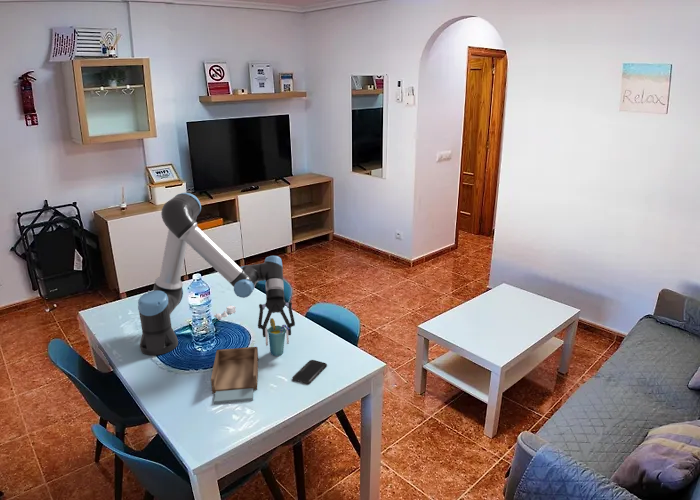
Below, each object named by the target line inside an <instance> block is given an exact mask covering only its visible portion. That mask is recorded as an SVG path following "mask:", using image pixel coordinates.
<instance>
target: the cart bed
mask: <svg viewBox="0 0 700 500" xmlns="http://www.w3.org/2000/svg"><path fill="white" fill-rule="evenodd" d="M210 377H211V378H210V383H211V391H212V394H215V393H216V391H226V390H237V389H249V388H253V390H254V391H256V390H258V377H259V351H258V346H249V347H247V346H246V347H234V348H224V349H216V352H215V357H214V362H213V366H212V372H211V376H210Z"/></svg>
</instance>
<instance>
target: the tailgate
mask: <svg viewBox="0 0 700 500" xmlns="http://www.w3.org/2000/svg"><path fill="white" fill-rule="evenodd" d="M254 391H255V390H253V388H249V389H237V390H226V391H216V393H214V394H215V395H214V400H213V403H214V405H215V404H216V405H217V404H227V403H235V402H236V403H237V402H247V401H254Z"/></svg>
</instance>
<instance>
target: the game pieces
mask: <svg viewBox="0 0 700 500" xmlns="http://www.w3.org/2000/svg"><path fill="white" fill-rule="evenodd" d="M234 313H236V306H234V305H233V304H232V305H228V306H227V307H226V310H224V311H223V313H222V314H221V313H220V312H219V313H215V314H214V315H213V317H214V318H215V317H216V318H217V319H218V320H219V321H220V320H222V318H227V317H229V314H230V315H232V314H234ZM216 318H215V319H216ZM218 320H217V321H218Z"/></svg>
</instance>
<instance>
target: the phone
mask: <svg viewBox="0 0 700 500" xmlns="http://www.w3.org/2000/svg"><path fill="white" fill-rule="evenodd" d="M327 367H328V364H327V363H326V362H322V361H319V360H315V359H310V360H308V362H306V363H305V364H304V365H303V366H302V367H301V368H300V369H299V370H298V371H297V372H296V373H295V374H294V375H293V376H292V377H291V378H292V381H293V382H294V381H295V382H297V383H300V384H303V385H310V384H312V382H313V381H314V380H315V379H316V378H317V377H319V376H320V374H321V373H322V372H323V371H324V370H325V369H326V368H327Z"/></svg>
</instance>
